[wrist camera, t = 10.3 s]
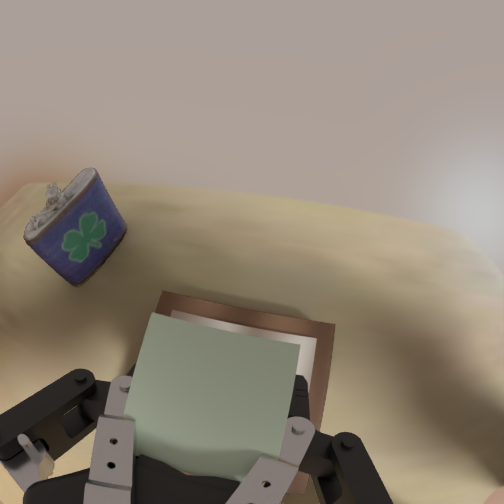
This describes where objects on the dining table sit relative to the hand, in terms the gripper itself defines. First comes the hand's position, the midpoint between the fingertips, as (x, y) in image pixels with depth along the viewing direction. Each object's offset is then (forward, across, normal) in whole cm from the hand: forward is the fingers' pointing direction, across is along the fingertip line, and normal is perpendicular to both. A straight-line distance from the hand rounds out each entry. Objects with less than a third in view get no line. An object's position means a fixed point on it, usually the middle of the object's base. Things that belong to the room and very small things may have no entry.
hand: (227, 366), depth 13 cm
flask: (+13, +17, +1) cm, 21 cm away
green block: (+2, 0, +5) cm, 5 cm away
